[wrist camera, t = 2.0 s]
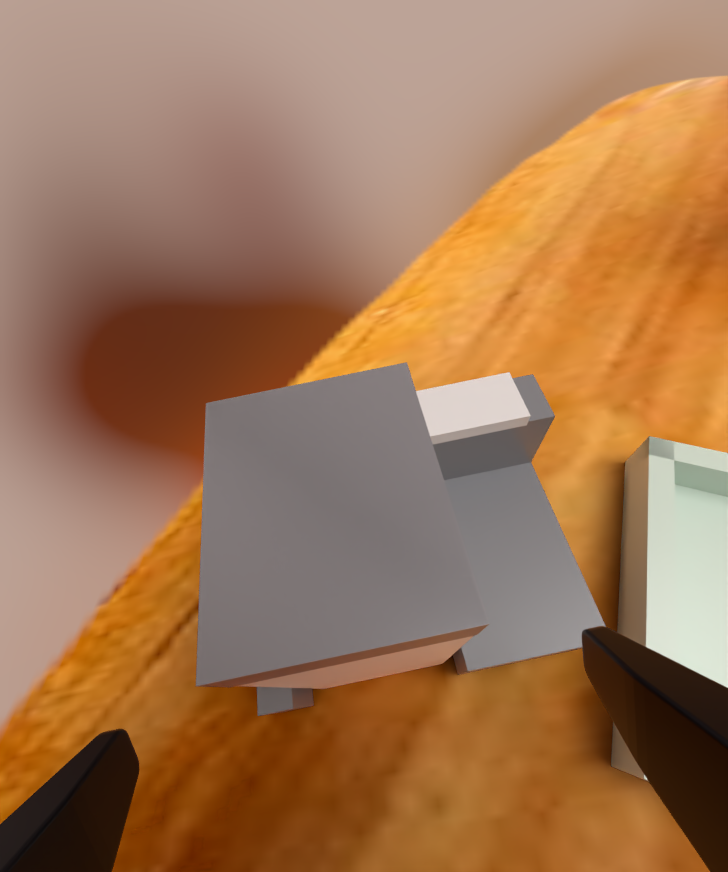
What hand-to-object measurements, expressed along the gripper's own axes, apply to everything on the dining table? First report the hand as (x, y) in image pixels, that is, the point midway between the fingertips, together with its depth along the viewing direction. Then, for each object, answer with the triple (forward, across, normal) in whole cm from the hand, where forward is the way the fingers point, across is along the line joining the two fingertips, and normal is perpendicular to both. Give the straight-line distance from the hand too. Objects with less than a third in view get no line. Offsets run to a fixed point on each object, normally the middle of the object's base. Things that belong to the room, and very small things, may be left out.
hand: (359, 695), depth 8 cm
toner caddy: (+10, 0, +5) cm, 11 cm away
